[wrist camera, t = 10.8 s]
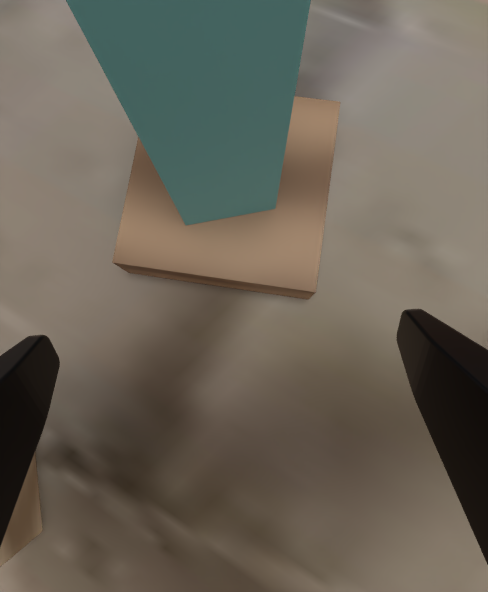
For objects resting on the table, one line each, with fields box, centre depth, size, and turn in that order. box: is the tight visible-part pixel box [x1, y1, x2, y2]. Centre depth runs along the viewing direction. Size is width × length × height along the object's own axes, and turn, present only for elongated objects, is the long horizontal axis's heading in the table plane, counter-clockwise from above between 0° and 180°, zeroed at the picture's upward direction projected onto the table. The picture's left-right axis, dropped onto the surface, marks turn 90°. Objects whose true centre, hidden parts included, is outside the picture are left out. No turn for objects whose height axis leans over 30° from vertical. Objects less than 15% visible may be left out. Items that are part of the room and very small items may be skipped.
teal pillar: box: [66, 0, 311, 225], centre depth 13 cm, size 4×4×12 cm
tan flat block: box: [112, 96, 340, 299], centre depth 20 cm, size 10×10×3 cm
